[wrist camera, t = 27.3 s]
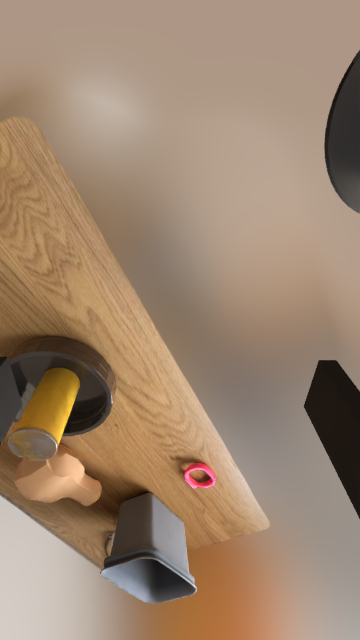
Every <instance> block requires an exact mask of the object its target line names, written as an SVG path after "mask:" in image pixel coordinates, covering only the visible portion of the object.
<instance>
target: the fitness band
mask: <svg viewBox="0 0 360 640" xmlns="http://www.w3.org/2000/svg"><path fill="white" fill-rule="evenodd" d="M196 469H200V470H204V471H205V472H206V473H207V474H208V475H209V476H210V477H211V480H210V481H208V482H204V483H199V482H196V481H195V480H193V479H192V478H191V477H190V476H189V475H188V473H189V472H191V471H192V470H196ZM184 477H185V480H186V481H187V482H188V483H189V484H190V485H191V486H192V487H193V488H196V486H198V487H210V486H212V485H214V484H215V481H216V478H215V474H214V473H213V472H212V470H211V469H210V468H209V467H208V466H207V465H205V464H202V463H195V464H192V465H190V466H189V467H188V468H187V469H186V470H185V473H184Z"/></svg>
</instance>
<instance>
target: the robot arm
mask: <svg viewBox="0 0 360 640" xmlns="http://www.w3.org/2000/svg"><path fill="white" fill-rule="evenodd" d="M21 407H22V402H21V398H20V395H19V392H18V389H17V385H16V382H15V379H14V376H13V373H12V369H11V366H10V363H9V360H8V357H0V444H1V443H2V441H3V439H4V437H5V435H6V434H7V432H8V430H9V428H10V427H11V425H12V423H13V421H14V419H15V418H16V416H17V414H18V412H19V410H20V409H21ZM304 408H305V410H306V412H307V414H308V416H309V418H310V420H311V422H312V424H313V426H314V428H315V430H316V432H317V434H318V436H319V438H320V440H321V442H322V444H323V446H324V448H325V450H326V452H327V454H328V456H329V458H330V460H331V462H332V464H333V466H334V468H335V470H336V472H337V474H338V476H339V478H340V480H341V482H342V484H343V486H344V488H345V490H346V492H347V494H348V496H349V498H350V500H351V502H352V504H353V506H354V508H355V510H356V512H357V514H358V516H359V518H360V391H359V390H358V389H357V387H356V386H355V385H354V383H353V382H352V381H351V379H350V378H349V377H348V375H347V374H346V373H345V371H344V370H343V369H342V367H341V366H340V365H339V363H338V362H337V361H336V360H319V362H318V365H317V368H316V371H315V374H314V377H313V380H312V383H311V386H310V389H309V392H308V395H307V398H306V401H305V404H304Z"/></svg>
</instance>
